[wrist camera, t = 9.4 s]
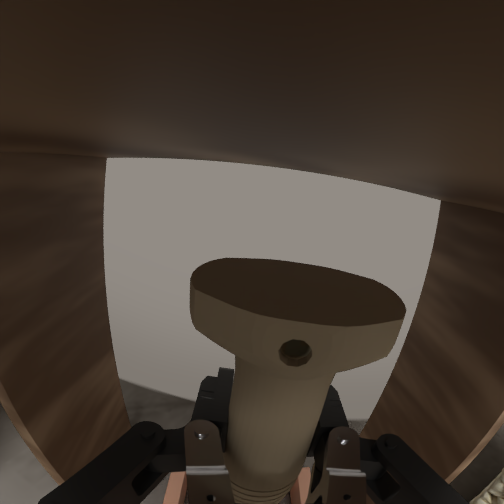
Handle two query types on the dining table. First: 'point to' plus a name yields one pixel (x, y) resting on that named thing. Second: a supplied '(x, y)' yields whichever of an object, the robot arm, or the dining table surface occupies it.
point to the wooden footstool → (249, 152)
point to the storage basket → (492, 492)
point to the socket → (179, 487)
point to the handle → (286, 356)
